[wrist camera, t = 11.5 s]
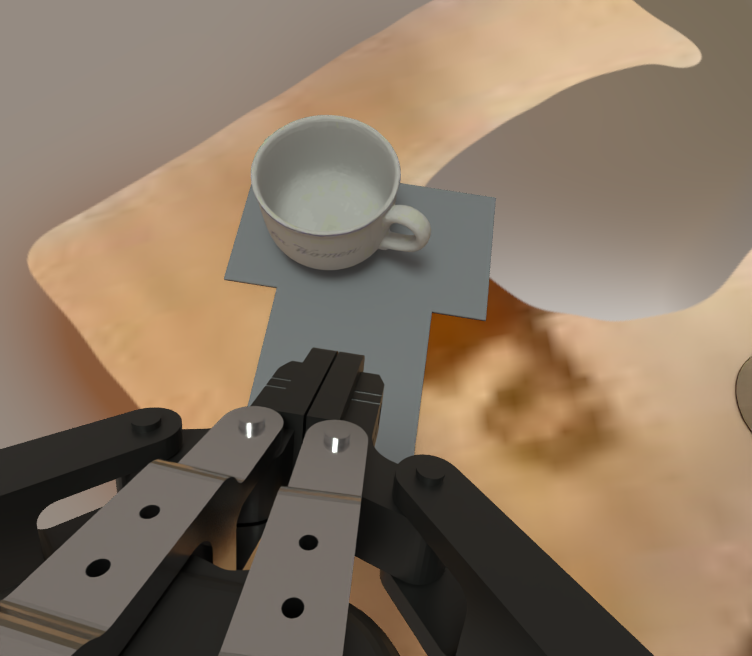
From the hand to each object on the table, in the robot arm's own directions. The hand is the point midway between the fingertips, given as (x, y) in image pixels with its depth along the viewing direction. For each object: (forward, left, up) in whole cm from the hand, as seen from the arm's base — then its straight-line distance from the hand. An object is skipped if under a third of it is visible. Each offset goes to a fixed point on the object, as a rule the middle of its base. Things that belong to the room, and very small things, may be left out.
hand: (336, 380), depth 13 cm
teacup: (+3, -17, -23) cm, 29 cm away
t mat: (+2, -11, -23) cm, 26 cm away
